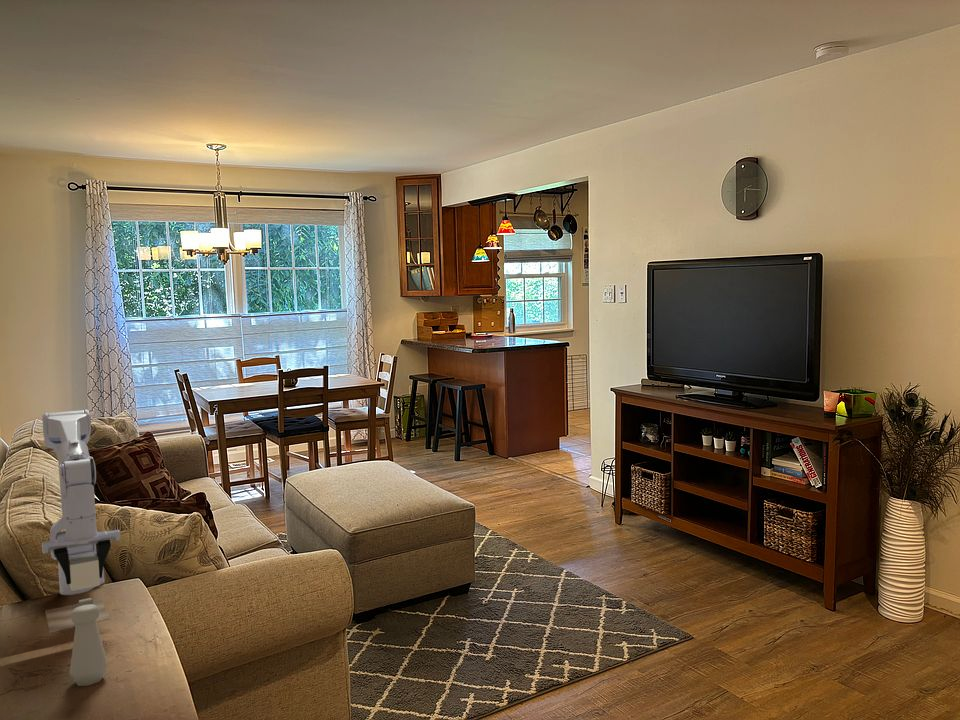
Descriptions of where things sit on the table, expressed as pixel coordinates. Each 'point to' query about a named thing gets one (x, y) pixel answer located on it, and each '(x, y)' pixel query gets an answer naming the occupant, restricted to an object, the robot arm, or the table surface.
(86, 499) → the robot arm
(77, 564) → the matte gray cube
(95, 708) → the table surface
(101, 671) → the salt shaker
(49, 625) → the stand
